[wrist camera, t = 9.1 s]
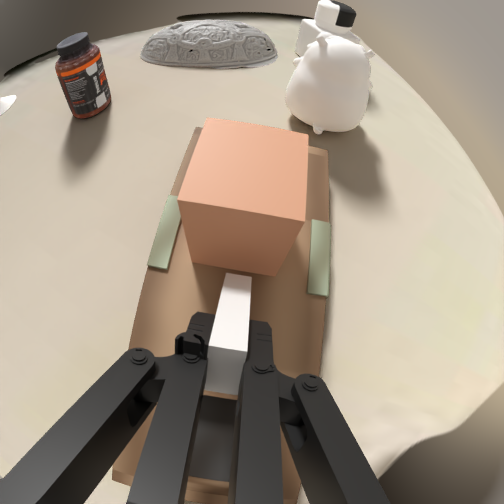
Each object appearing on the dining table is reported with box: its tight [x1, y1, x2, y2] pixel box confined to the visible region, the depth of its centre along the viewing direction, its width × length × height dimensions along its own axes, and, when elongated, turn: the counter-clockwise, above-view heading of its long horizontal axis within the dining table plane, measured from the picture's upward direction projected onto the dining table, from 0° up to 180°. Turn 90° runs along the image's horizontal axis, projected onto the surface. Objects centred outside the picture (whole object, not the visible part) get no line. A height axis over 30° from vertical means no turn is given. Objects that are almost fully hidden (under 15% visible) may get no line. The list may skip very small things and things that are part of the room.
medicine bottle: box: [295, 0, 360, 57], centre depth 34 cm, size 7×7×12 cm
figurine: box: [285, 32, 375, 134], centre depth 27 cm, size 10×10×12 cm
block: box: [177, 118, 309, 277], centre depth 18 cm, size 6×6×8 cm
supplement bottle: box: [55, 32, 111, 119], centre depth 25 cm, size 6×6×11 cm
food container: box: [140, 20, 278, 69], centre depth 36 cm, size 16×25×7 cm, turn 89°
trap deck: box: [112, 127, 331, 504], centre depth 21 cm, size 13×31×3 cm, turn 172°
